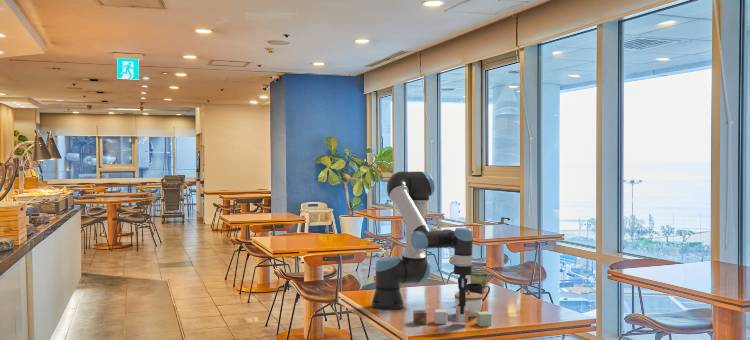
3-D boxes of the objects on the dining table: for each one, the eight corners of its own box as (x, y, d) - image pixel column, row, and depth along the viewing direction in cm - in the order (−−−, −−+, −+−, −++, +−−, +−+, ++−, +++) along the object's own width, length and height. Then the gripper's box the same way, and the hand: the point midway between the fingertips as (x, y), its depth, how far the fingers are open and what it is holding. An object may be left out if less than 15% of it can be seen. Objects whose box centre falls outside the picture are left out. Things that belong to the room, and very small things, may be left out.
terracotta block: (455, 321, 267) (456, 309, 267) (455, 318, 272) (456, 307, 272) (467, 322, 267) (468, 310, 267) (467, 319, 272) (467, 307, 272)
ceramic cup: (468, 291, 343) (468, 273, 343) (469, 288, 353) (469, 270, 353) (492, 293, 341) (492, 274, 341) (493, 289, 350) (493, 271, 350)
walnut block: (414, 324, 269) (414, 312, 269) (413, 321, 274) (413, 310, 274) (426, 324, 270) (426, 312, 270) (424, 321, 275) (425, 310, 275)
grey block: (434, 323, 272) (434, 311, 272) (436, 320, 277) (436, 309, 277) (446, 324, 271) (446, 312, 271) (447, 321, 276) (447, 309, 276)
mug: (491, 306, 308) (492, 286, 308) (467, 306, 307) (467, 286, 307) (487, 302, 316) (487, 283, 316) (463, 302, 315) (464, 283, 315)
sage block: (479, 326, 268) (479, 314, 268) (476, 323, 273) (476, 311, 273) (491, 326, 269) (491, 314, 269) (487, 323, 274) (487, 311, 274)
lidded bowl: (460, 310, 297) (461, 287, 297) (486, 314, 291) (486, 289, 291) (450, 315, 286) (450, 291, 286) (476, 319, 280) (476, 294, 280)
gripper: (472, 268, 259) (471, 325, 260) (471, 261, 277) (470, 314, 278) (453, 268, 260) (452, 324, 261) (454, 260, 278) (452, 313, 279)
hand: (461, 319), depth 269 cm, fingers closed on terracotta block, 5 cm apart
